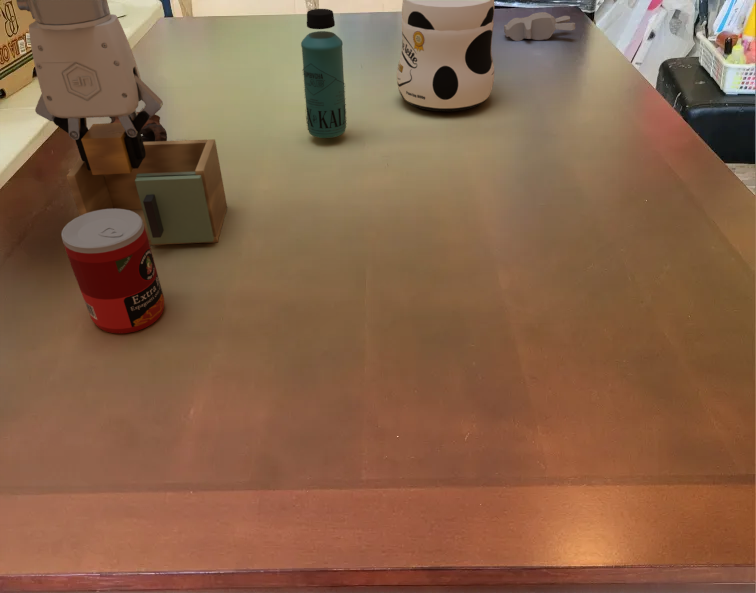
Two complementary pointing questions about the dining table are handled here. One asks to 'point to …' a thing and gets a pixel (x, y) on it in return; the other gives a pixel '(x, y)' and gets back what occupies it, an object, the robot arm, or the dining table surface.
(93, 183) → the cupboard
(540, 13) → the bunny figurine
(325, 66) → the beverage bottle
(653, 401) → the dining table surface
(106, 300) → the canned food
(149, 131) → the pottery mug
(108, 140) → the block
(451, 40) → the milk container
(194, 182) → the closet door
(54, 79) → the robot arm
